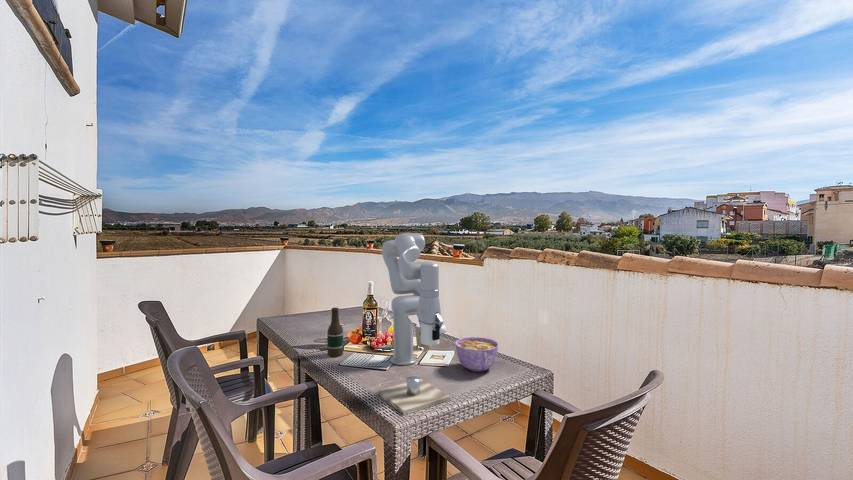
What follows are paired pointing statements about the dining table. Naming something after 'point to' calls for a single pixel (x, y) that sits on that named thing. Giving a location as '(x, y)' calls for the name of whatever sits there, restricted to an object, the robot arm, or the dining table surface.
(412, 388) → the beige flat square plate
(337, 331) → the beer bottle
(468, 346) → the bowl of food
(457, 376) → the dining table surface
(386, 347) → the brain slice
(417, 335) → the coffee cup
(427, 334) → the elbow
